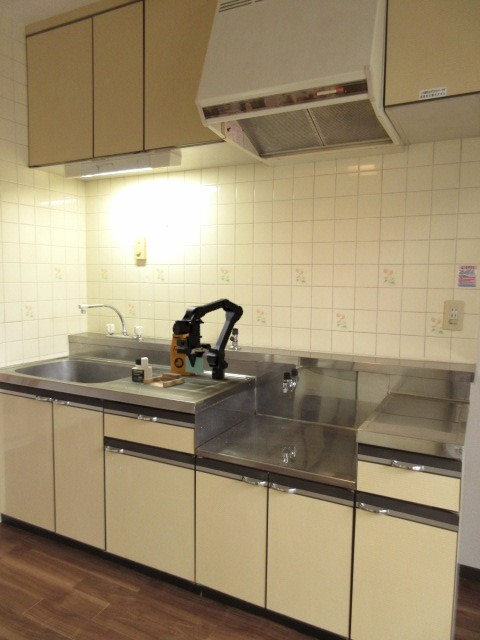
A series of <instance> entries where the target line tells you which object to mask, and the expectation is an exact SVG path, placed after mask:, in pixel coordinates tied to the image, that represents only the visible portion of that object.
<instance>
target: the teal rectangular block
mask: <svg viewBox="0 0 480 640" xmlns="http://www.w3.org/2000/svg"><path fill="white" fill-rule="evenodd" d="M185 361H186V372H192V373H195V374H203V373H205V371H204V369H205V368H204V364H205V363H204V357H202V358H200V357H196V360H195V365H194V367H192V366H191V364H190V361H189V358H188V357H185Z"/></svg>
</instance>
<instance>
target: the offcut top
mask: <svg viewBox="0 0 480 640" xmlns="http://www.w3.org/2000/svg"><path fill="white" fill-rule="evenodd" d="M161 376H162V378H170V379H179V378H182V375H181V374H175V373H171V372H164V373H162V374H161Z"/></svg>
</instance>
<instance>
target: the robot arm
mask: <svg viewBox="0 0 480 640" xmlns="http://www.w3.org/2000/svg"><path fill="white" fill-rule="evenodd" d="M220 309H222V310H223V311H224V312H225V316H224V317H225V321H224V324H223V326H222V329H221V331H220V333H219V336H218V338H217V341H216V343H215V346H214V347H212V345H211V344H210V343H205V342H201V339H202V338H203V335H201V325H203V324H205V321H203V320H202V318H204V317H205V316H206V315H207V314H209V313H211V312H214V311H217V310H220ZM243 315H244V308H243V306H241V305H239V304H236V303H234V302H233V301H231V300H229V299H228V298H219V299H217V300H215V301H212V302H209V303H206V304H203V305H195V306H194V305H193V306H188V307H187V308H186V310H185V313H184V314H183V316H182V318H181V319H175V320H174V323H173V325H172V328H171V329H172V334H173V333H174V334H175V335H185V334H188V336H186V339H185V340H182V339H178V340H177V346H179V347H178V348H177V353H179V354H186V355H187V356H188V358H189V361H190V364H191V366H192V367H194V365H195V360H196V357H200V358H203V356H204V354H205V353H206V351H208V352H207V354H206V361H207V363H208V366H209V368H211V380H214V381H215V380H217V381H218V380H224V379H225V380H228V378H227V377H226V376H225V375H226V372H225V371H226V369H228V367H229V363H228V362H227V361H226V360H225V358H226V351H225V350H226V347H227V344H228V342H229V340H230V337H231V335H232V332H233V329H234V327H235V325H236V323H238V322H239V320H241V318H242V316H243ZM205 350H206V351H205Z"/></svg>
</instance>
